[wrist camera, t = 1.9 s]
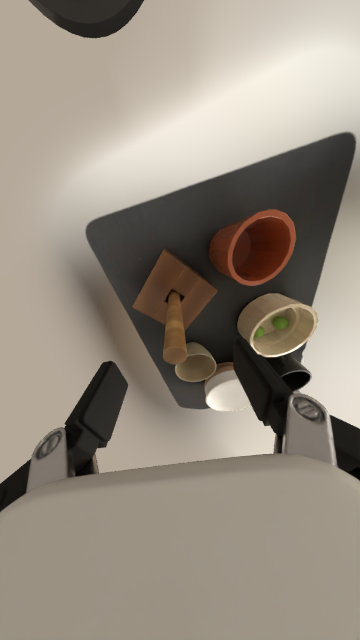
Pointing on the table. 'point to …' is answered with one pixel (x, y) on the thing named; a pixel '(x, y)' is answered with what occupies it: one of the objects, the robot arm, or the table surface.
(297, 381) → the mug
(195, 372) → the flower pot
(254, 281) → the crock
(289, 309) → the mixing bowl
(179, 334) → the wooden dowel peg
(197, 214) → the table surface
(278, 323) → the pea
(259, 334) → the pea
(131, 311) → the table surface
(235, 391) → the bowl
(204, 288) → the holder
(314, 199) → the table surface
